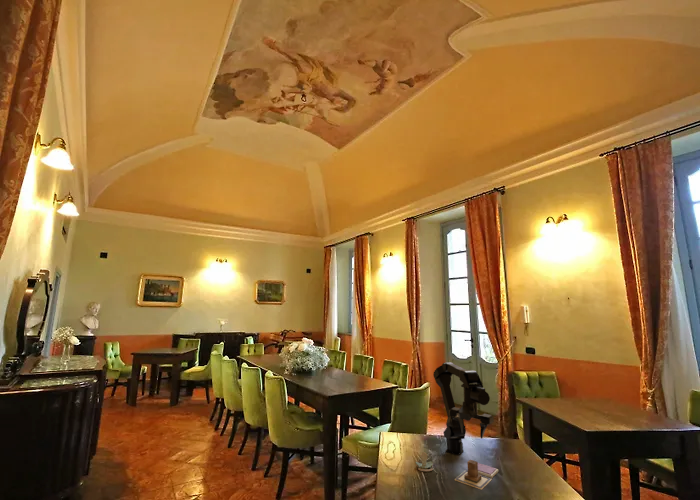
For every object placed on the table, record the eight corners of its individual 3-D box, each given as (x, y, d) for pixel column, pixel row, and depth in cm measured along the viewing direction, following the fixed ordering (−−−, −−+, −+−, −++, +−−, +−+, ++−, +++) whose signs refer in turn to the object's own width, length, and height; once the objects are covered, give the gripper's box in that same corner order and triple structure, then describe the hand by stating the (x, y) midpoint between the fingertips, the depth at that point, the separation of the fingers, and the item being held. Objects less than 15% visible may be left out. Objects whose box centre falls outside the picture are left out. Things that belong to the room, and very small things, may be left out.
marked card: (454, 480, 142) (454, 478, 142) (465, 471, 151) (465, 469, 151) (481, 489, 135) (481, 488, 135) (491, 479, 144) (491, 478, 144)
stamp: (464, 479, 143) (464, 461, 144) (469, 475, 147) (469, 458, 148) (476, 483, 140) (476, 465, 141) (481, 479, 143) (480, 461, 144)
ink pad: (468, 470, 151) (468, 467, 152) (475, 464, 157) (475, 461, 158) (491, 478, 145) (491, 474, 145) (498, 471, 151) (498, 468, 151)
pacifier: (435, 472, 149) (430, 465, 155) (435, 456, 150) (430, 450, 156) (418, 472, 149) (414, 466, 155) (418, 457, 149) (414, 450, 155)
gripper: (443, 398, 162) (444, 435, 159) (484, 406, 150) (485, 446, 147) (453, 394, 170) (454, 429, 167) (493, 401, 158) (494, 439, 155)
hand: (471, 435), depth 159 cm, fingers open, 9 cm apart
